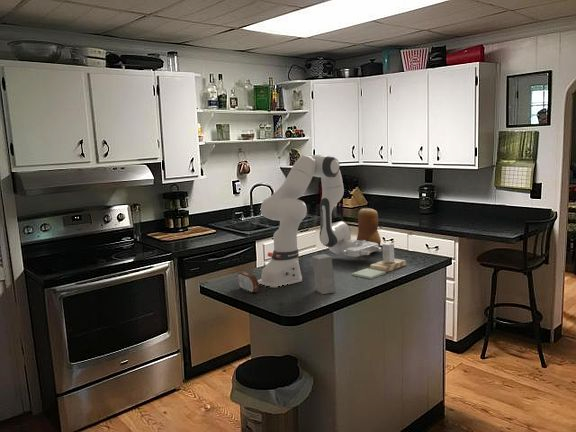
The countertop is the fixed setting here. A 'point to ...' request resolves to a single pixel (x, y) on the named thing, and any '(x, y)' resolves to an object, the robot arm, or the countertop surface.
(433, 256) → the countertop surface
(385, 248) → the white rectangular block
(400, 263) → the plane body
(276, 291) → the countertop surface
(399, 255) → the countertop surface
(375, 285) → the countertop surface
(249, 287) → the brown white rounded block
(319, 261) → the skincare box
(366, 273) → the green mat
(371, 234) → the butternut squash
